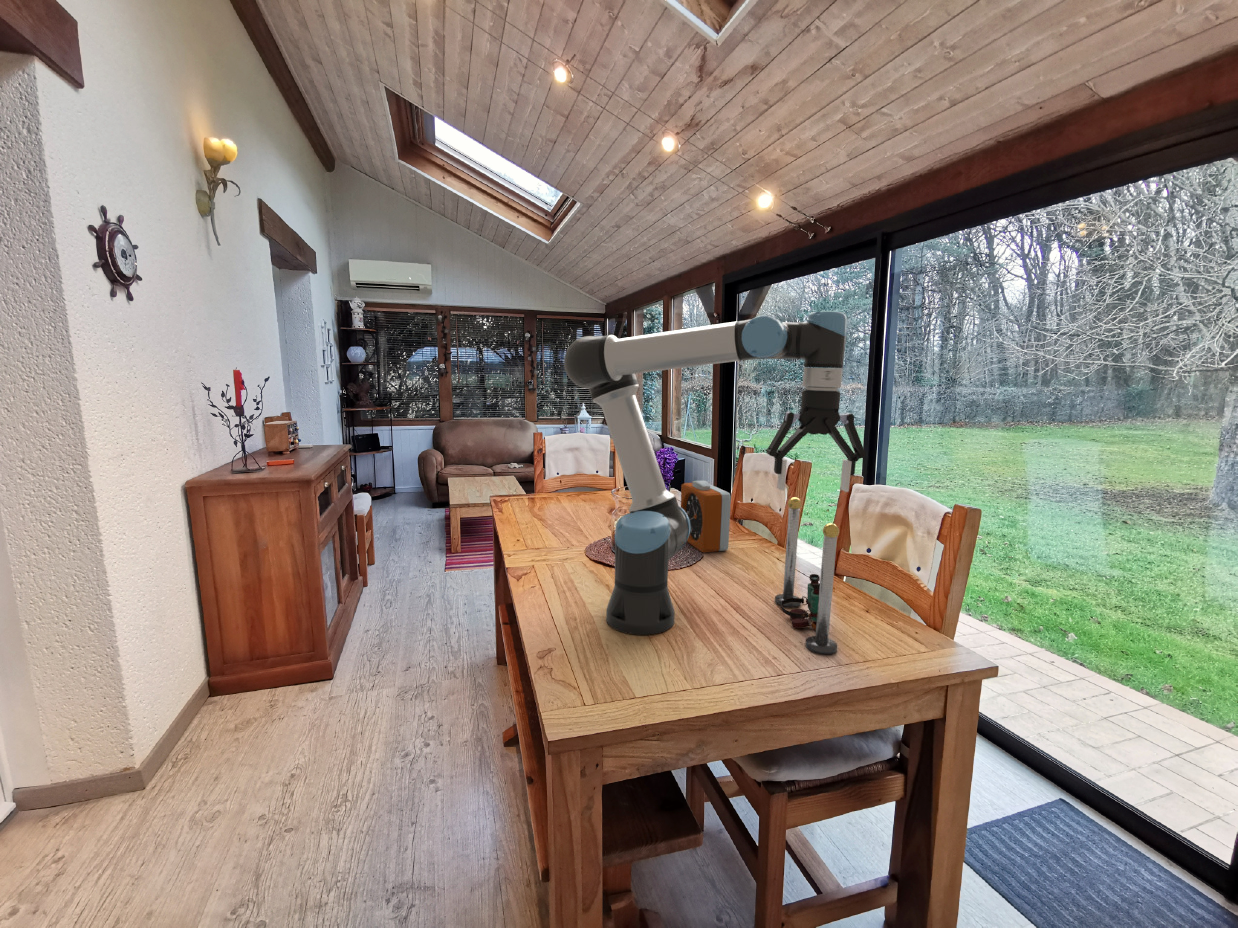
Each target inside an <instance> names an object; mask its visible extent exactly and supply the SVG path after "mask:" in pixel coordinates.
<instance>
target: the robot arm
mask: <svg viewBox="0 0 1238 928" xmlns="http://www.w3.org/2000/svg"><path fill="white" fill-rule="evenodd" d="M807 316H808V317H807V319H806V321H800V322H793V321H792V322H789V321H788V322H786V321H784V322H783V321H781V320H780V319H778V318H777V317H775V316H772V315H764V314H763V315H758V316H756V317H753V318H752V319H750V318H749V319H745V320H739V321H731V322H723V323H716V324H710V325H703V326H696V327H689V328H685V329H684V328H683V329H677V330H669V331H662V332H655V333H649V334H641V335H636V336H630V337H622V338H618V337H617V336H616V335H614V334H608V335H599V336H597V335H596V336H593V335H586V336H582V337H579V338H577V339H576V340H574V341H573V342H572V343H571V344H570V345H569V347H567V350H566V351H565V353H564V358H563V359H564V361H563V365H564V370H565V373H566V375H567V376H568V378H569V380H570V381H572V383H573V384H575V385H576V386H578V387H579V388H580V387H581V388H582V389H588V390H589V394H590V397H591V400H592V402H593V403H595V404H597V405H599V406H600V407H601V410H602V412H603V416H604V418H605V422H606V424H607V428H608V431H609V434H610V437H611V440H612V443H613V445H614V449H615V452H616V455H617V458H618V461H619V464H620V466H621V467H620V468H621V470H622V473H623V477H624V479H625V482H626V485H627V488H628V491H629V494H630V498H631V500H632V501H631V502H632V503H631V505H630V507H629V508H628V511H629V513H626V514H624V515H622V516H621V517H619V519H618V520H617V522H616V524H615V532H614V535H613V536H614V585H613V586H614V587H613V589H612V592H611V595H610V598H609V601H608V603H607V607H606V609H605V610H606V611H605V612H606V613H605V614H606V617H605V619H606V623H607V624H608V625H609V627H611V628H612V629H614V630H616V631H618V632H621V633H623V634H624V633H625V634H628V635H634V636H635V635H638V636H647V635H656V634H660V633H664V632H665V631H667V630H669V629H671V628H672V627H673V626H674V624H675V617H676V615H675V614H676V613H675V608H674V606H673V605H674V604H673V602H672V598H671V596H670V592H669V589H668V587H669V586H668V583H669V582H668V579H669V578H668V576H669V561H670V560H671V559H672V558H673V556H675V555H676V553H678V552H679V551H681V550H682V549H683V547H685V545H686V543H687V539H688V537H689V535H690V528H691V526H690V520H689V517H688V515H687V513H686V512H685V511H684V510H683V509H682V508H681V506H680V505H679V503H678V500H677V496H676V495H675V494H674V493H673V492H671V491H669V490H668V489H667V487H666V484H665V480H664V479H663V475H662V472H661V468H660V465H659V464H658V462H659V461H658V460H657V457H656V454H655V451H654V448H653V444H652V441H651V438H650V435H649V433H648V429H647V426H646V424H645V421H644V420H645V419H644V417H643V414H642V411H641V408H640V405H639V402H638V400H637V399H638V398H637V395H636V394H637V393H638V389H639V388H640V385H639V381H638V378H637V375H636V374H643V373H649V372H650V373H651V372H652V373H653V372H659V371H660V372H661V371H666V370H667V371H668V370H676V369H683V368H684V369H686V368H692V367H700V366H707V365H709V366H710V365H715V364H724V363H725V364H726V363H732V362H741V361H752V360H804V365H803V375H802V384H801V385H802V387H804V389H803V390H802V391H801V401H800V410H799V412H798V413H796V412H795V413H794V412H792V411H785V412H784V416H783V421H782V423H781V425H780V426H779V429H778V430H777V432H776V434H775V435H774V437H773V438H772V440H771V442H770V444H769V445H768V446H767V449H766V454H767V455H769V456H770V457H773V458H774V466H773V471H774V474H776V475H777V484H776V486H777V487H776V488H777V489H778V490H779V491H785V489H786V488H785V487H786V474H787V464H788V460H787V459H786V458H785V457H786V456H787V454H789V452H790V451H791V450H792V449H793V448H794V447H795V446H796V445H797V444H799V442H800V441H801V440H802V439H803V437H805V436H807V434H809V435H824V436H826V435H829V436H830V437H831V438H832V440H833V441H834V442H835V444H836V445H837V447H838V449H840V451H841V452H842V453H843V454H844V456H845V457H846V458H847V459H846V458H845V459H844V458H843V459H842V465H841V475H840V485H839V489H840V490H841V491H843V492H845V493H849V492H850V483H851V482H850V481H851V476H852V477H853V476H854V475H855V474H856V473H855V471H856V463H857V462H858V461H859V460H861V459H865V458H866V457H867V454H866V451H865V448H864V446H863V443H862V440H861V439H860V436H859V433H858V431H857V428H856V425H855V414H853V413H849V412H845V413H842V414H841V413H839V411H840V410H839V409H840V405H841V404H840V403H841V393H842V392H840V390H838V389H840V388H841V387H842V381H843V368H844V360H845V359H844V358H845V349H846V340H847V318H848V317H847V315H846V314H845V313H844V312H841V311H837V310H836V311H834V310H833V311H831V310H822V311H811V312H810V313H809V314H808V315H807ZM797 420H798V421H799V423H800V425H799V426H798V427H797V428H796V429H795V431H794V433H792V435H791V436H790V437H789V438H788V439H787V440H786V441H785V442H783V441H784V440H785V438H786V436H787V434H788V433H789V431H790V430H791V427H792V425H793V424H794V423H796V421H797ZM839 422H840V423H841V424H843V426H844V429H845V432H846V434H847V437H848V439H849V442H850V444H851V446H852V448H851V447H850V445H849V444H848V442H847V441H846V440H845V438H844V437H843V435H842V434H841V432H840V431H839V429H838V428H837V424H838V423H839ZM782 443H783V444H782ZM852 449H853V450H852Z"/></svg>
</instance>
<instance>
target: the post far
mask: <svg viewBox="0 0 1238 928" xmlns="http://www.w3.org/2000/svg"><path fill="white" fill-rule="evenodd" d="M787 506H788V513H787V514H788V518H787V532H786V547H785V558H784V559H785V562H784V563H785V564H784V573H783V575H784V576H783V588H782V591H783V592H782V593H780V594H777V595H775V597H774V603H775V604H776V605H777V606H779V607H781V601H783V600H784V599H787V598H800V597H799V596H797V595H794V592H795V579H796V568H797V567H796V564H797V551H798V550H797V549H798V540H799V539H798V535H799V524H800V523H799V522H800V509H801V506H802V501H801V499H800V498H799V497H797V496H796V497H795V496H794V497H793V496H792V497H791V498H789V500H788V501H787ZM801 605H802V603H798V602H789V603H785V604H784V605H782V607H783V608H785V609H798V608H800V607H801Z"/></svg>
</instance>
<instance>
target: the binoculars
mask: <svg viewBox="0 0 1238 928" xmlns="http://www.w3.org/2000/svg"><path fill="white" fill-rule="evenodd" d="M820 577H821V576H820V575H819V574H816V573H812V574H810V575H809V581H810V582H809V583H808V584H807V594H806V595H807V597H806V596H803V595H802V597H801V598H800V597H799V598H787V599H784V600H783V601H781V606H780V608H781V611H782V612H783V614H785V615H787V616H788V617H790V619H791V627H792V628H795V629H803V628H808V627H811V628H813V629H814V630H816V625H817V613H818V601H819V589H820ZM789 602H798V603H801V605H802V606H807V610H805V609H802V608H791V610H787V608H785V607H782V605H784V604H785V603H789ZM809 620H811V623H810V622H809Z"/></svg>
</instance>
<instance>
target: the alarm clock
mask: <svg viewBox="0 0 1238 928" xmlns="http://www.w3.org/2000/svg"><path fill="white" fill-rule="evenodd" d="M680 487H681V488H680V489H681V490H680V492H681V493H680V507H681V508H682V509H683V510H684V511H685V512H686V513H687V515H688V517H689V520H690V526H691V528H690V535H689V537H688V539H687V541H686V543H689V544H690V545H691V546H692V547H694V548H695V549H697V550H698V551H700V552H701V553H713V552H721V551H722V552H723V551H724V552H725V551H728V549H729V543H730V540H729V539H730V538H729V537H730V524H731V522H730V518H731V503H732V502H731V500H732V497H731V494H730V492H728V491H726V490H723V489H721V488H719V487H717V486H714V485H712V484H710V483H709V482H708V481H707V480H693V481H692V482H685V483H682V484H681V486H680Z"/></svg>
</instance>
